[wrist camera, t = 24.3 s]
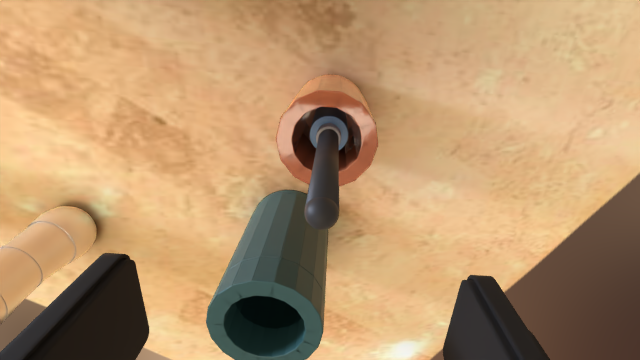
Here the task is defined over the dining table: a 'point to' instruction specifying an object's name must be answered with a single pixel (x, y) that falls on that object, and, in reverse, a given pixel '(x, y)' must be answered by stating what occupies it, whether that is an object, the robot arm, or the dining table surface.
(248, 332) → the teal hollow cylinder
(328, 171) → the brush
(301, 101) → the crock
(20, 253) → the metal bottle
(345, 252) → the dining table surface
